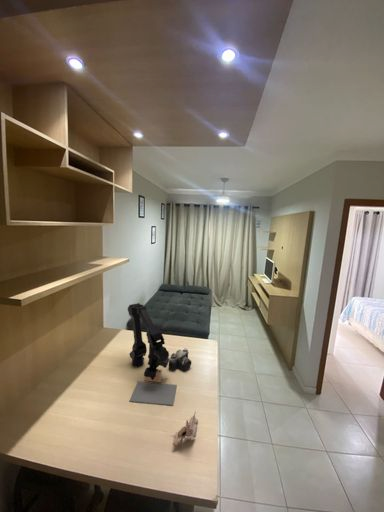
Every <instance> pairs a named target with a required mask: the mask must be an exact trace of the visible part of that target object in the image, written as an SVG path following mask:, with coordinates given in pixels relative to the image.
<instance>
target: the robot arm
mask: <svg viewBox="0 0 384 512" xmlns="http://www.w3.org/2000/svg"><path fill="white" fill-rule="evenodd" d="M127 312H128V315H129V317H130V318H131V321H132V333H133V339H134V340H133V345H132V347H131V348H132V350H131V351H130V353H129V357H130V358H131V366H133V368H140V367H144V363H145V358H144V357H145V356H146V354H147V353H148V354H147V359H148V360H147V365H148V366H149V367H145V370H144V372H143V376H144V378H145V377H151V379H152V380H154V377H156V374H157V371H158V370H159V369H158V367H160V366H161V367H163V368H164V369H165V368H167V367H168V366H169V358H170V353H169V351H168V350H167V348H166V347H165V346H163V345H165V344H166V342H165V338H164V335H163V333H162V331H161V329H160V328H159V327H158V326H156V325H155V324H154V321H153V320H152V318H151V316H150V314H149V312H148V311H147V307H146V306H145V305H144V304H141V303H140V302H137V303H132V304H129V305H128V307H127ZM141 321H142V323H143V325H144V327H145V329H146V334H145V335H146V338H147V344H148V345H149V346H148V350H147V344H146V343H145V342H144V341H143V333H142V325H141ZM147 351H148V352H147Z"/></svg>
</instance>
